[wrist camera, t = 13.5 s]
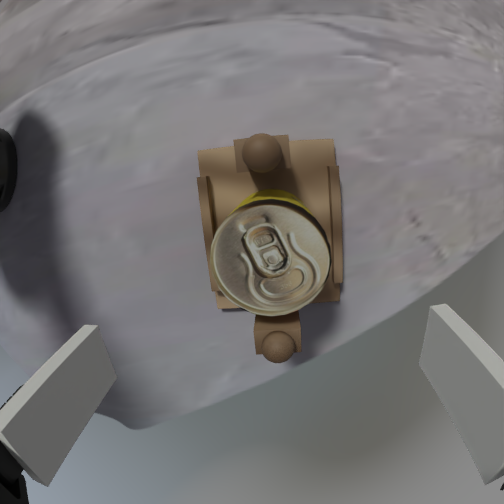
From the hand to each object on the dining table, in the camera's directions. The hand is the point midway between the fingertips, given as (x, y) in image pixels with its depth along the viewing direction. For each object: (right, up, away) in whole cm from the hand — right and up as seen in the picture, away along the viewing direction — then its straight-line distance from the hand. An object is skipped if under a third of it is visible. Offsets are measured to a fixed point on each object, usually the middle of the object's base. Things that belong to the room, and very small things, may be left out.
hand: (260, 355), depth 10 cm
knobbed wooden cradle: (+2, +7, +24) cm, 25 cm away
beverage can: (+2, +6, +23) cm, 24 cm away
